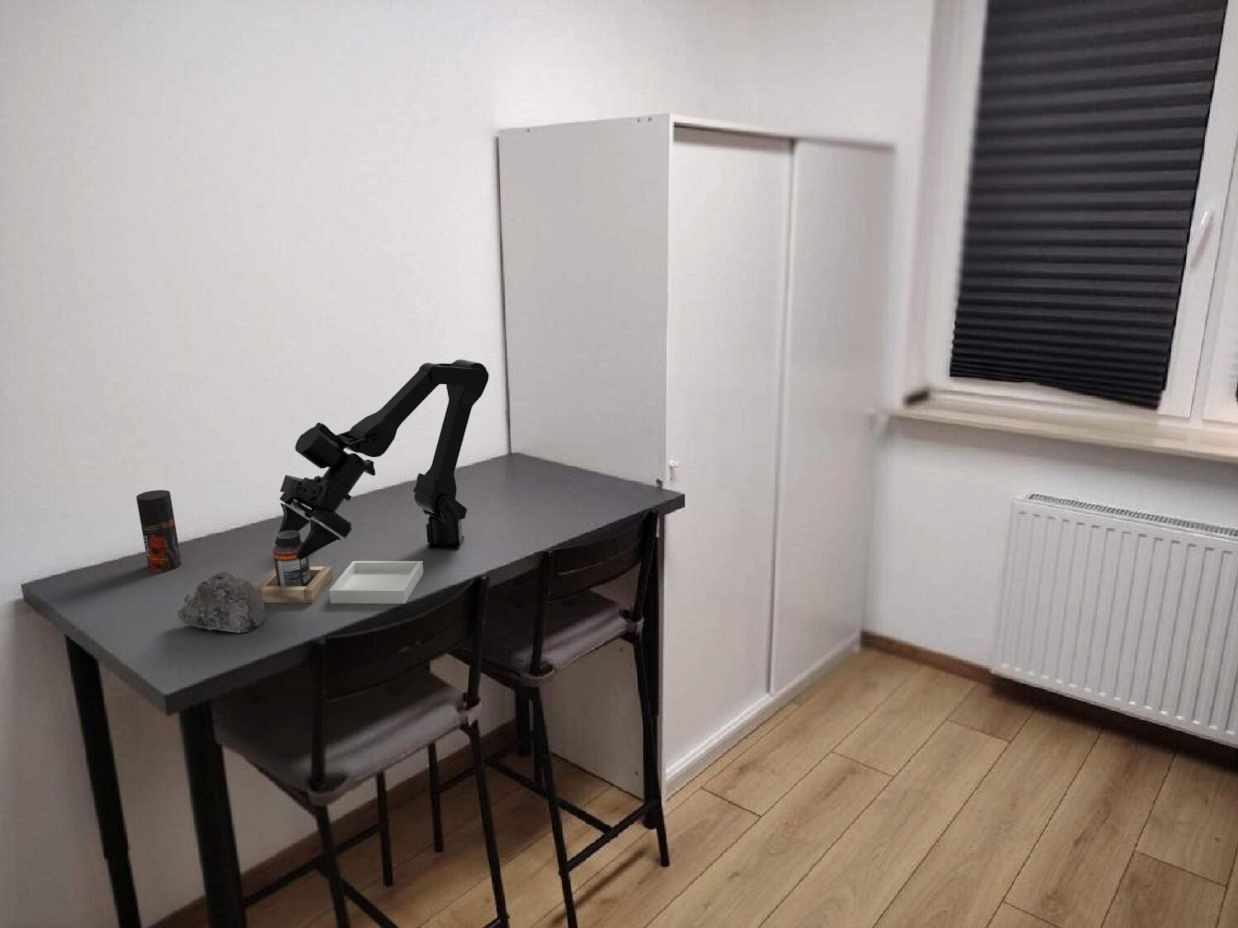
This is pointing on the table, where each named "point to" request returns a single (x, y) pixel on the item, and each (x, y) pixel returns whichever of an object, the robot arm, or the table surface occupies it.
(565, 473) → the table surface
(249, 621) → the mineral rock
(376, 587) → the tray
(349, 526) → the robot arm
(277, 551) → the supplement bottle
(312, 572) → the collar socket
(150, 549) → the deodorant
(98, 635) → the table surface
